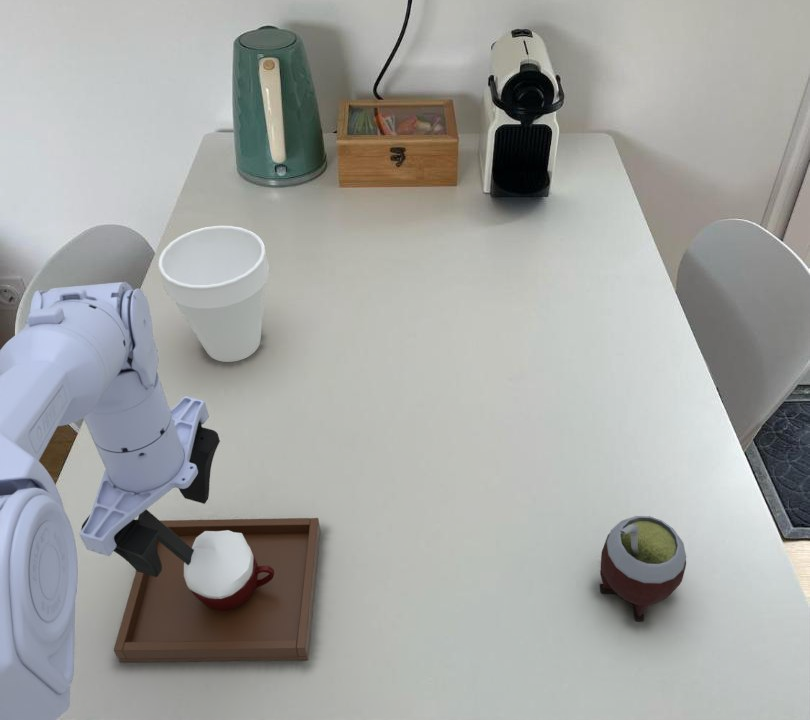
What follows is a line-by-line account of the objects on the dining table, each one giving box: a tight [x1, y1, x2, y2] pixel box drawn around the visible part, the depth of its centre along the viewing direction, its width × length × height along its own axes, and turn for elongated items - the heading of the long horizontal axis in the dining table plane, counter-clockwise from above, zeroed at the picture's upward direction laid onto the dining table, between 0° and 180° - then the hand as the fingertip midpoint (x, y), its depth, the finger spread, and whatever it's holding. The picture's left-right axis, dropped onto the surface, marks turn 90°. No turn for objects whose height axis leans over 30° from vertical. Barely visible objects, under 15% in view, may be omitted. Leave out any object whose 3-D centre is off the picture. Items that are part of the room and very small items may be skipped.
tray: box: [113, 517, 322, 663], centre depth 75 cm, size 17×14×2 cm
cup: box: [157, 225, 270, 363], centre depth 97 cm, size 12×12×14 cm
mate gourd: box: [599, 515, 687, 623], centre depth 69 cm, size 8×8×15 cm
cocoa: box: [137, 508, 274, 611], centre depth 71 cm, size 10×6×12 cm, turn 67°
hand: (173, 533), depth 68 cm, fingers open, 7 cm apart
